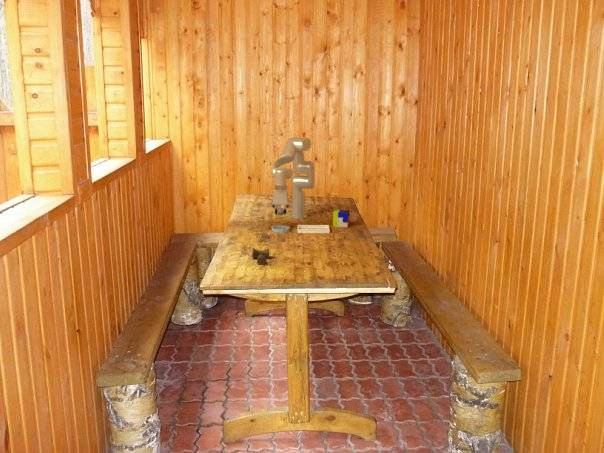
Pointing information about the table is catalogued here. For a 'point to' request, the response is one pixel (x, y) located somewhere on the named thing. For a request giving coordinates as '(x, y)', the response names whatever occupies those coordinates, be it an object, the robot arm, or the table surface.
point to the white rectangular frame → (313, 229)
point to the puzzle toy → (341, 218)
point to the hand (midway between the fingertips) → (280, 214)
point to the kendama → (260, 256)
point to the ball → (280, 211)
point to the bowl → (280, 229)
